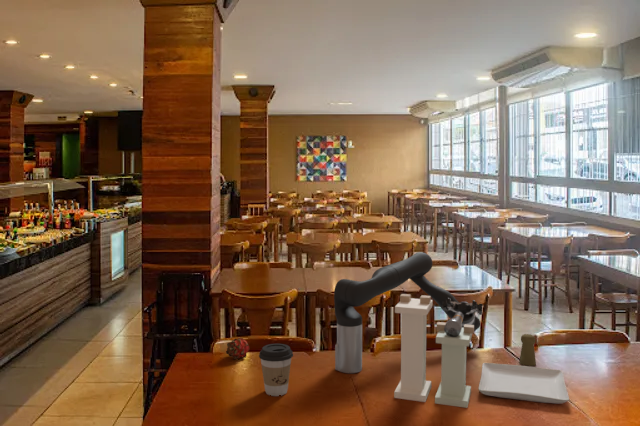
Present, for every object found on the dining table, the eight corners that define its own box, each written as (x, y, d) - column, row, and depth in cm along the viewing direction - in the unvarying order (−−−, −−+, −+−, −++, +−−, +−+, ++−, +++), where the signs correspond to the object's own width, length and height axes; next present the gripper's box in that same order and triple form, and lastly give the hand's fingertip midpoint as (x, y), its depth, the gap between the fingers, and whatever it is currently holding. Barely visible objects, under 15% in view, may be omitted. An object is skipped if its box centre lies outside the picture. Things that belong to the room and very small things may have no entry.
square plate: (562, 379, 199) (562, 368, 198) (569, 411, 173) (569, 399, 172) (482, 370, 207) (482, 360, 207) (477, 399, 182) (478, 388, 181)
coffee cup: (267, 401, 180) (266, 355, 179) (254, 389, 190) (253, 345, 189) (299, 394, 185) (299, 350, 184) (285, 382, 195) (284, 340, 194)
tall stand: (394, 397, 182) (395, 300, 180) (402, 383, 195) (403, 291, 192) (425, 402, 179) (426, 302, 176) (431, 386, 191) (432, 294, 189)
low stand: (432, 403, 178) (433, 330, 176) (437, 387, 191) (439, 319, 189) (470, 408, 174) (471, 333, 172) (473, 392, 187) (474, 322, 185)
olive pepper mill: (537, 366, 210) (538, 337, 209) (520, 365, 212) (521, 336, 211) (534, 361, 216) (535, 332, 215) (517, 360, 217) (518, 332, 216)
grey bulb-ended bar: (461, 338, 175) (460, 321, 174) (444, 337, 176) (443, 321, 176) (466, 320, 194) (466, 306, 194) (452, 320, 196) (451, 305, 195)
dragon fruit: (231, 367, 215) (239, 361, 227) (249, 354, 214) (256, 349, 226) (219, 348, 216) (227, 343, 227) (237, 336, 215) (244, 331, 227)
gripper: (446, 303, 221) (442, 290, 207) (484, 306, 216) (482, 293, 202) (444, 322, 218) (440, 310, 204) (483, 325, 213) (481, 313, 199)
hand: (461, 301), depth 203 cm, fingers open, 8 cm apart
